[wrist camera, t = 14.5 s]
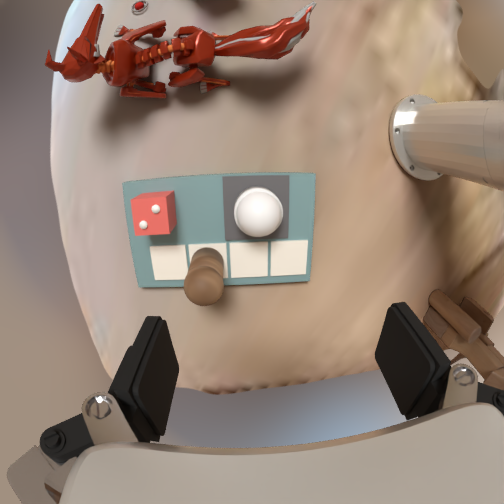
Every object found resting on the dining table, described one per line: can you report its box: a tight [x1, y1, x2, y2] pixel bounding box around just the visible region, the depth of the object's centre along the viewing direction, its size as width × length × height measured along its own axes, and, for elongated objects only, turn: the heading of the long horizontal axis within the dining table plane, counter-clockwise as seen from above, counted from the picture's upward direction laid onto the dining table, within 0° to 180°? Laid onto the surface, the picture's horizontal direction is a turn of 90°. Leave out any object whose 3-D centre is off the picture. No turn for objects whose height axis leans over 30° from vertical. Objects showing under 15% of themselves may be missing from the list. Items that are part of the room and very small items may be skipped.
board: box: [122, 172, 315, 287], centre depth 31 cm, size 23×14×5 cm, turn 91°
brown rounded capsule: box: [184, 247, 224, 306], centre depth 30 cm, size 4×4×8 cm
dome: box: [234, 186, 283, 237], centre depth 29 cm, size 5×5×5 cm
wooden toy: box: [423, 290, 504, 390], centre depth 30 cm, size 16×7×25 cm, turn 75°
